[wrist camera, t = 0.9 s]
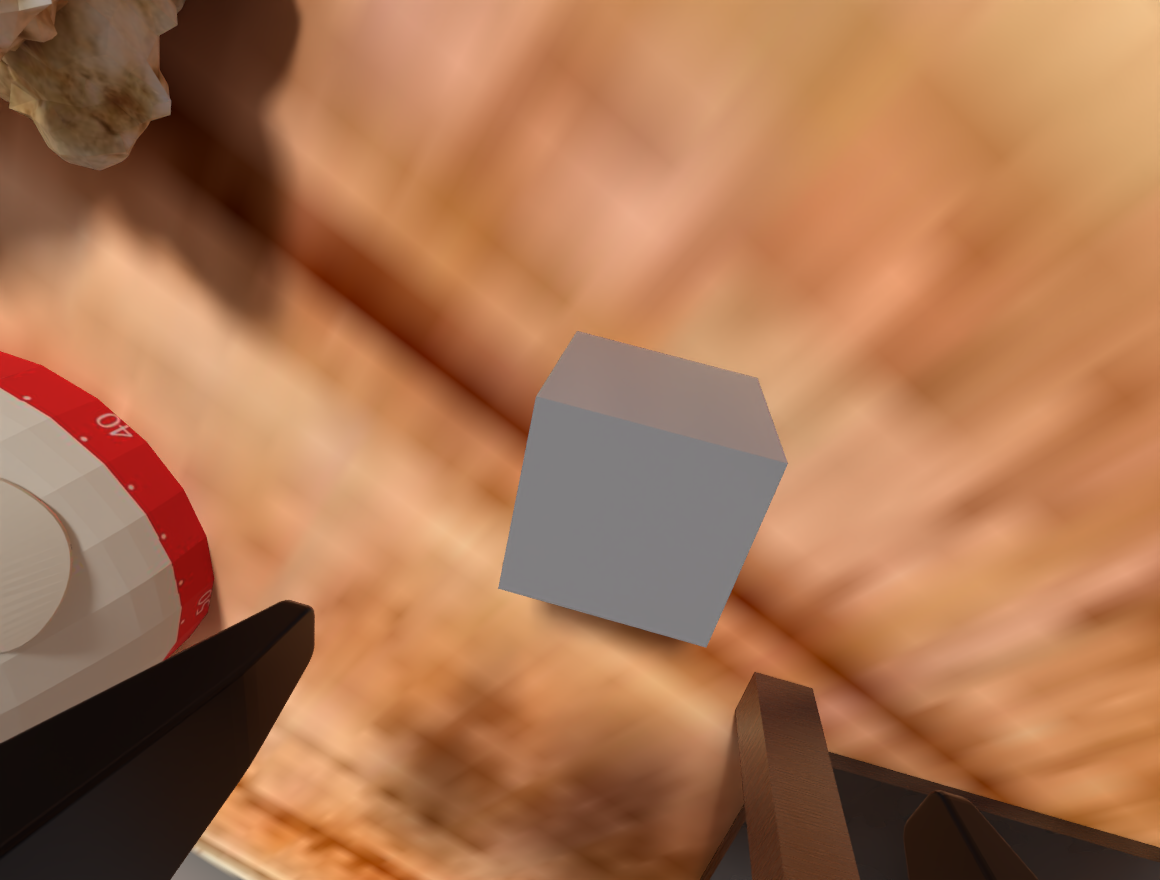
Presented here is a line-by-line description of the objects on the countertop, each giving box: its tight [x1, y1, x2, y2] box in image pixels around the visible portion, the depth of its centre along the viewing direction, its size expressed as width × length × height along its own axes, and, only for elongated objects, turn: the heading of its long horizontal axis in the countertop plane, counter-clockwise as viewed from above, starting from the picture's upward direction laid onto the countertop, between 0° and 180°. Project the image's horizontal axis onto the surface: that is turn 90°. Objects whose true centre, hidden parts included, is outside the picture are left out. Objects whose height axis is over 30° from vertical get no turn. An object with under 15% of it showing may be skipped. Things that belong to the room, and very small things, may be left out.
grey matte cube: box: [498, 331, 788, 647], centre depth 14 cm, size 5×5×5 cm
